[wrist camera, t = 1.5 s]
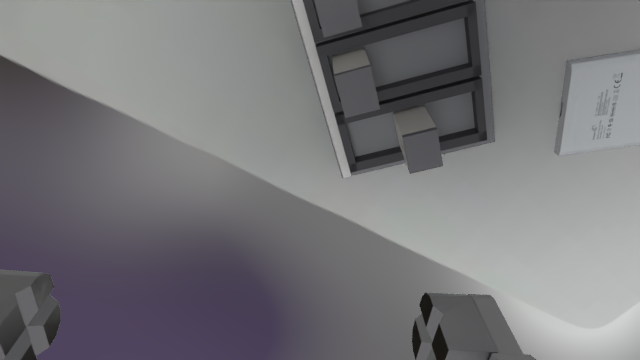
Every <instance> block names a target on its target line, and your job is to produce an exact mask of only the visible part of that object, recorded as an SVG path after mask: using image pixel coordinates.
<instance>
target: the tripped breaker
mask: <svg viewBox="0 0 640 360" xmlns="http://www.w3.org/2000/svg"><path fill="white" fill-rule="evenodd" d="M393 116H394V121H395V126H396V131H397V136H398V141H399V145H400V148H401V151H402V153H403V156H404V159H405V162H406V164H407V167H408V170H409V173H410V174H411V173H415V172H419V171H424V170H428V169H432V168H436V167H441V166H443V163H442V157H441V150H440V143H439V136H438V129H437V128H436V126H435V124H434V122H433V121H432V119H431V117H430V115H429V114H428V112H427V110H426V108H425V107H424V105H423V104H422V105H418V106H414V107H410V108H406V109H402V110H398V111H394V112H393Z"/></svg>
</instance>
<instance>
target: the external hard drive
mask: <svg viewBox="0 0 640 360" xmlns="http://www.w3.org/2000/svg"><path fill="white" fill-rule="evenodd" d="M561 101H562V102H563V106H562V112H561V116H560V117H559V122H558V129H557V136H556V143H555V150H554V152H555V153H556V154H557V155H558V156H561V155H569V154H575V153H583V152H591V151H598V150H606V149H614V148H621V147H629V146H636V145H640V50H634V51H628V52H621V53H615V54H609V55H602V56H596V57H589V58H583V59H576V60H570V61H567V63H566V71H565V78H564V86H563V93H562V100H561Z"/></svg>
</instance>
